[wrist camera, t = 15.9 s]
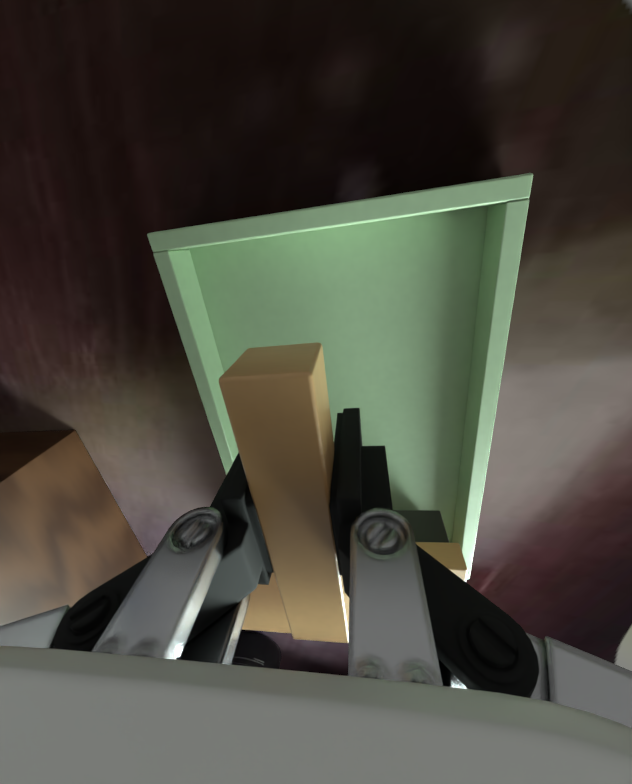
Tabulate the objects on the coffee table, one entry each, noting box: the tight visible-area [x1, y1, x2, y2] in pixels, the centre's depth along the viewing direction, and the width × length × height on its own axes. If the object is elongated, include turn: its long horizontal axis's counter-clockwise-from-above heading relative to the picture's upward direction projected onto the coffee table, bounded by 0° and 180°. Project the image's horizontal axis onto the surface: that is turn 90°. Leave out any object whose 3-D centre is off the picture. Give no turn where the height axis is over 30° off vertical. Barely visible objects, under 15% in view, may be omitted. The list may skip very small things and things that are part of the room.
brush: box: [219, 342, 468, 643], centre depth 12 cm, size 16×11×6 cm
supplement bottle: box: [231, 631, 281, 669], centre depth 30 cm, size 7×7×12 cm
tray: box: [147, 173, 533, 579], centre depth 19 cm, size 24×16×3 cm, turn 7°
